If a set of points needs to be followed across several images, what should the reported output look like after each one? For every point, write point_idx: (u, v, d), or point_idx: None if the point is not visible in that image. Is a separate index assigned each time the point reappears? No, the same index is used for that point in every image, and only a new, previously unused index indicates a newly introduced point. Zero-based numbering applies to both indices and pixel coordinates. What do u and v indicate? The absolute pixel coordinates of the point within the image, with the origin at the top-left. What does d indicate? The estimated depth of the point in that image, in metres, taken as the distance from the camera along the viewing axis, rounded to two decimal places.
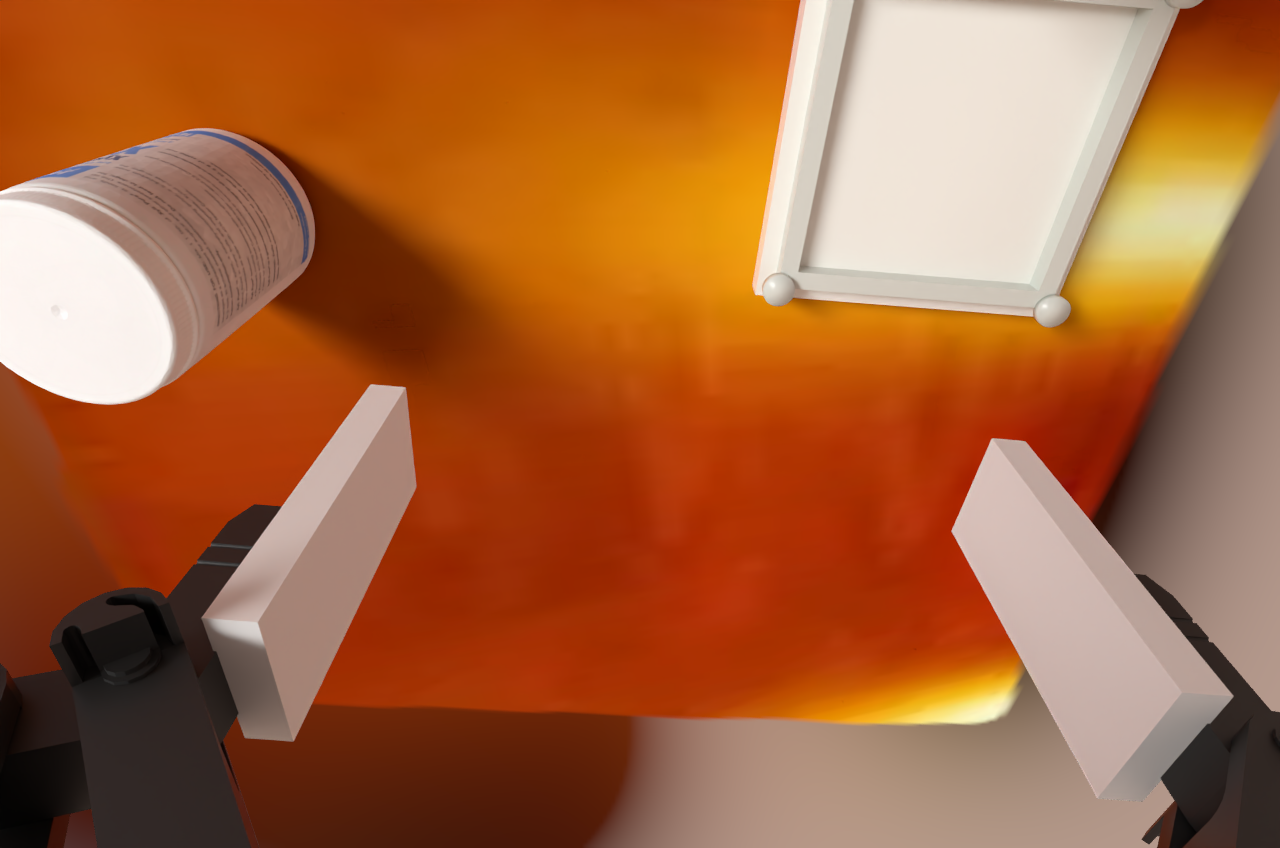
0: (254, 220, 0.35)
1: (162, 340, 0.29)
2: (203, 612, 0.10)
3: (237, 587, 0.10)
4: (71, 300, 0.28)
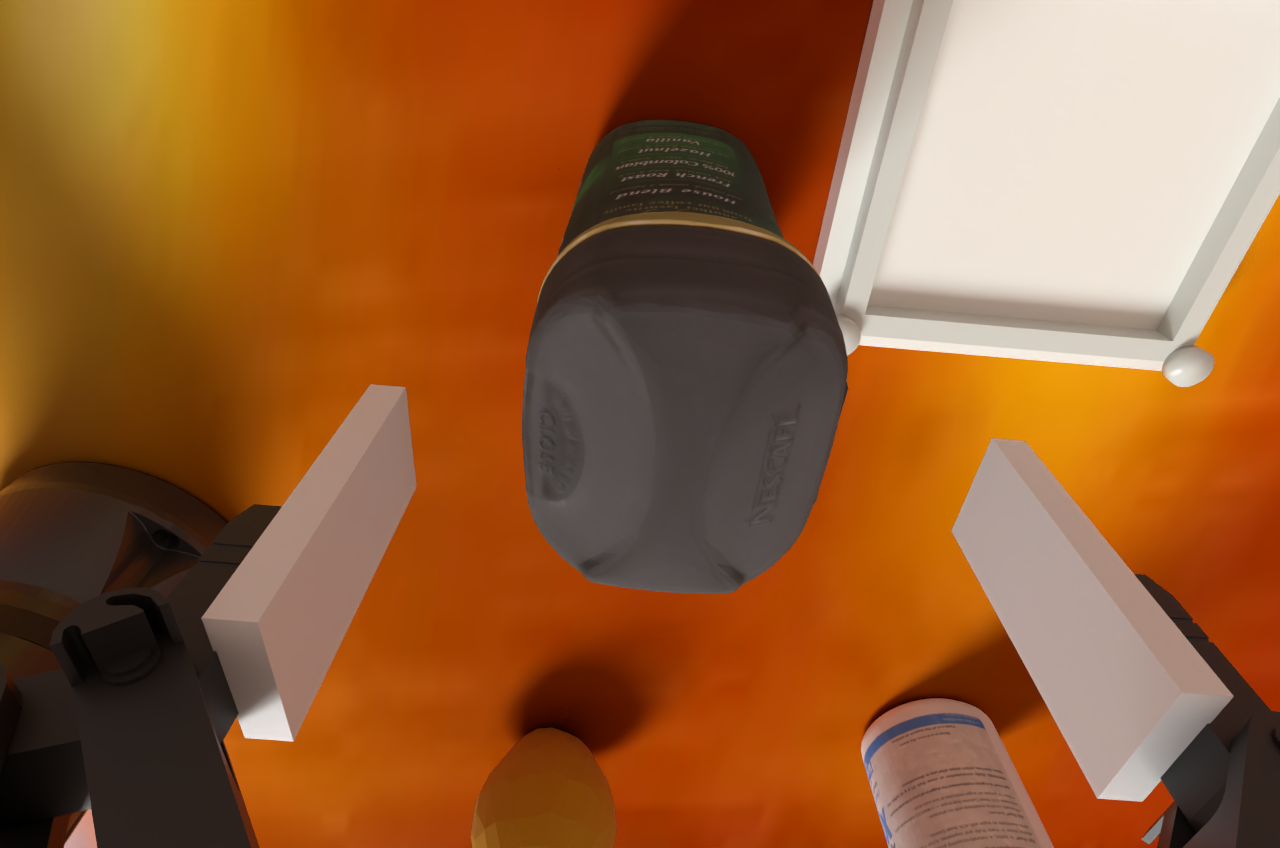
0: (955, 784, 0.43)
1: None
2: (203, 612, 0.10)
3: (237, 587, 0.10)
4: None
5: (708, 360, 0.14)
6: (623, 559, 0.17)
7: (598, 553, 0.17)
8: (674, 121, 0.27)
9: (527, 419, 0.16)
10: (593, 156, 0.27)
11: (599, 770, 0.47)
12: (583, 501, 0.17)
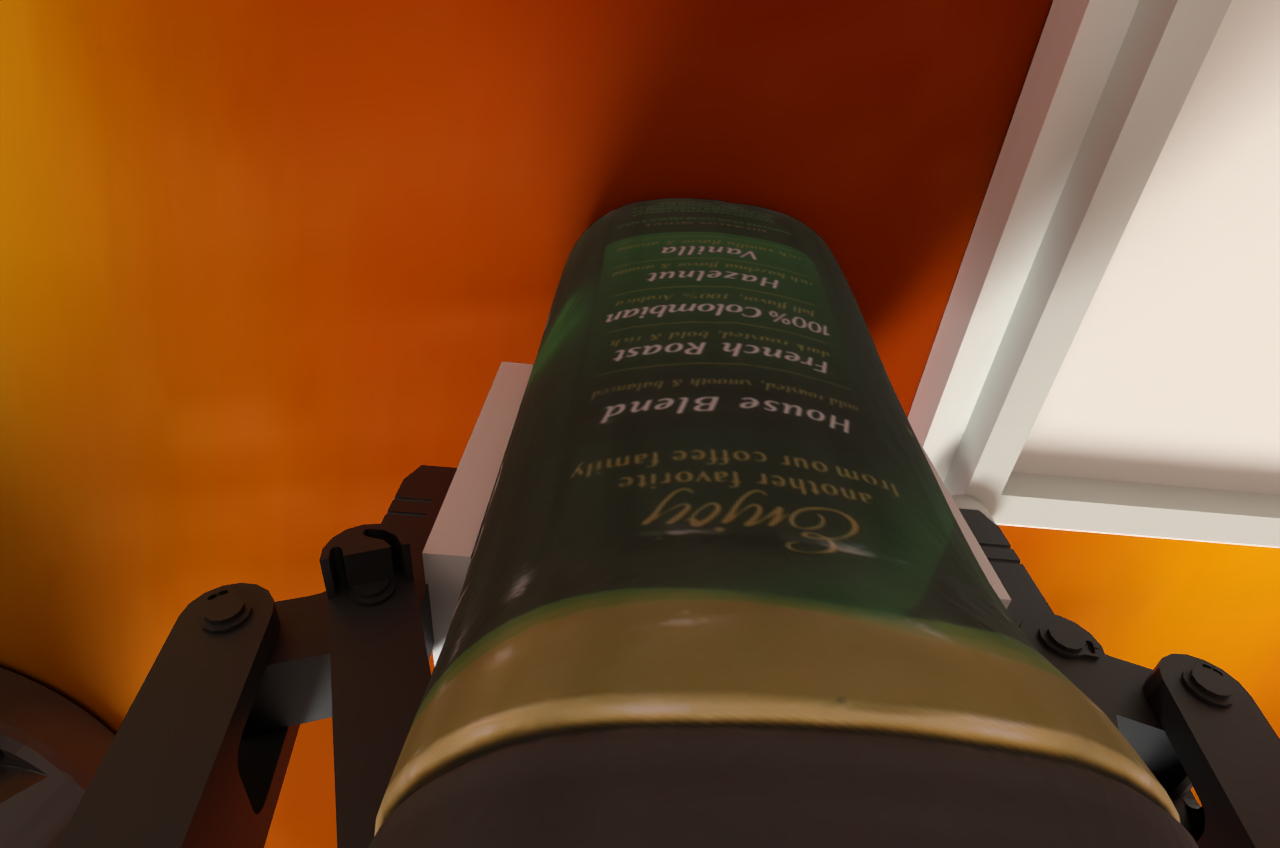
0: None
1: None
2: None
3: (444, 529, 0.11)
4: None
5: None
6: None
7: None
8: (707, 203, 0.17)
9: None
10: (571, 266, 0.16)
11: None
12: None
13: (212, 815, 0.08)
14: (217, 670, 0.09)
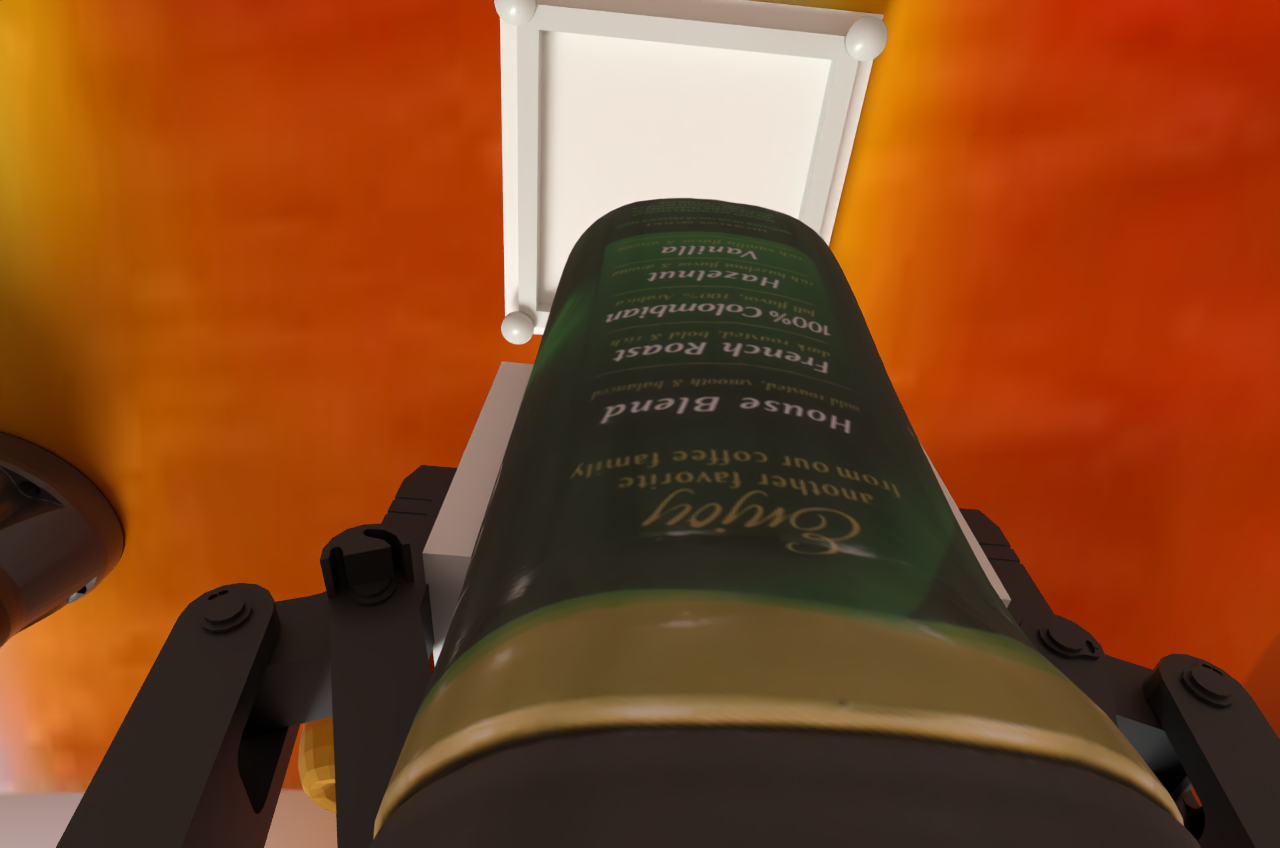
0: None
1: None
2: None
3: (444, 529, 0.11)
4: None
5: None
6: None
7: None
8: (707, 202, 0.16)
9: None
10: (571, 266, 0.16)
11: None
12: None
13: (212, 815, 0.08)
14: (217, 670, 0.09)
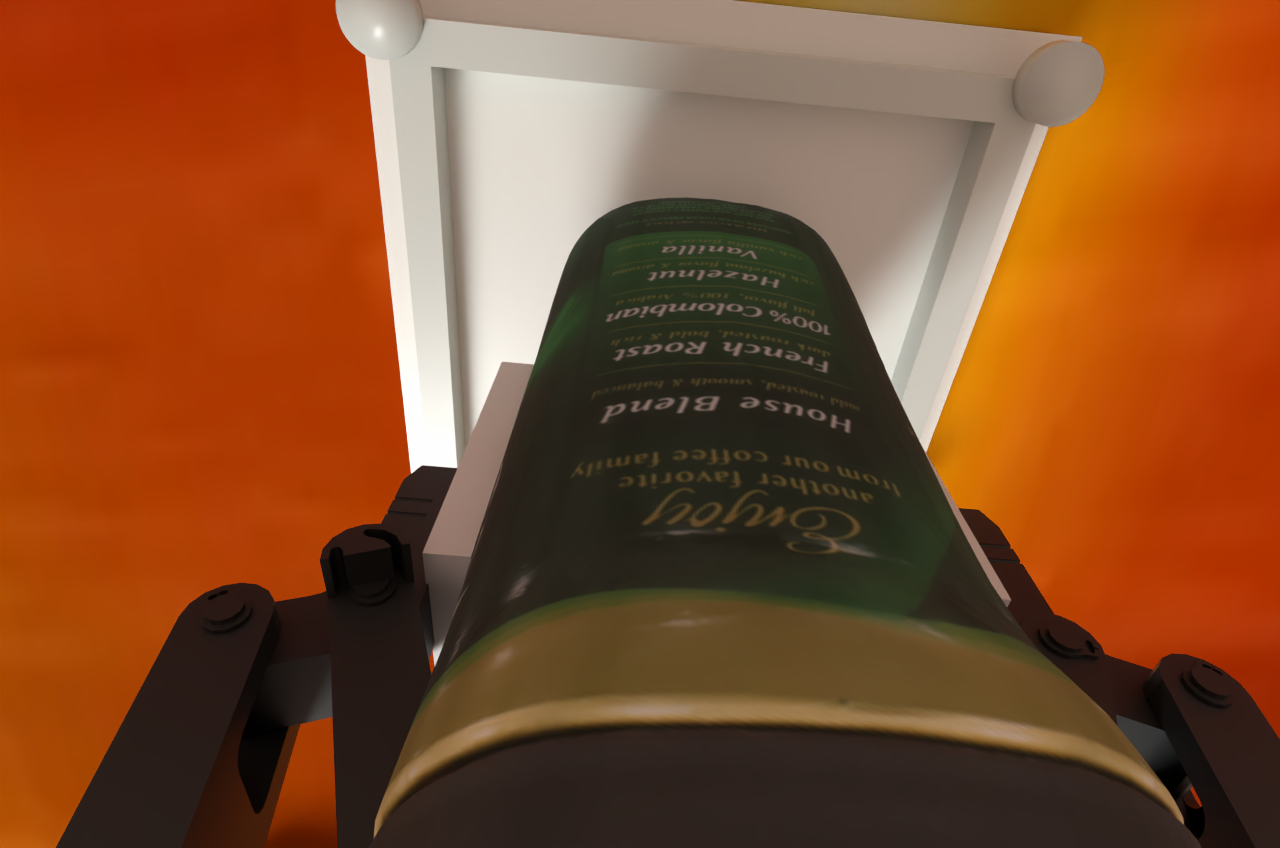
0: None
1: None
2: None
3: (443, 529, 0.11)
4: None
5: None
6: None
7: None
8: (708, 202, 0.16)
9: None
10: (571, 265, 0.16)
11: None
12: None
13: (212, 815, 0.08)
14: (217, 670, 0.09)
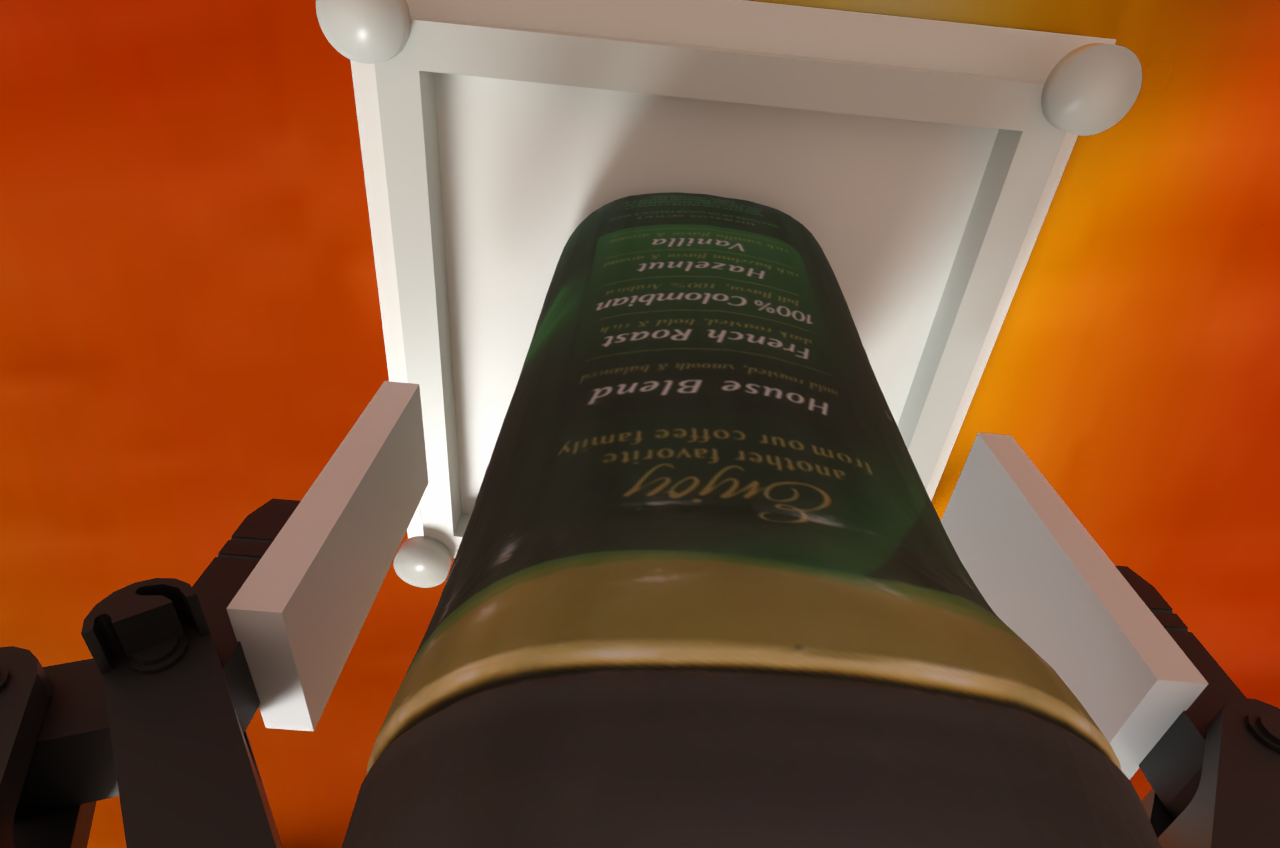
0: None
1: None
2: (226, 604, 0.10)
3: (260, 579, 0.10)
4: None
5: None
6: None
7: None
8: (698, 197, 0.17)
9: None
10: (565, 258, 0.16)
11: None
12: None
13: None
14: None
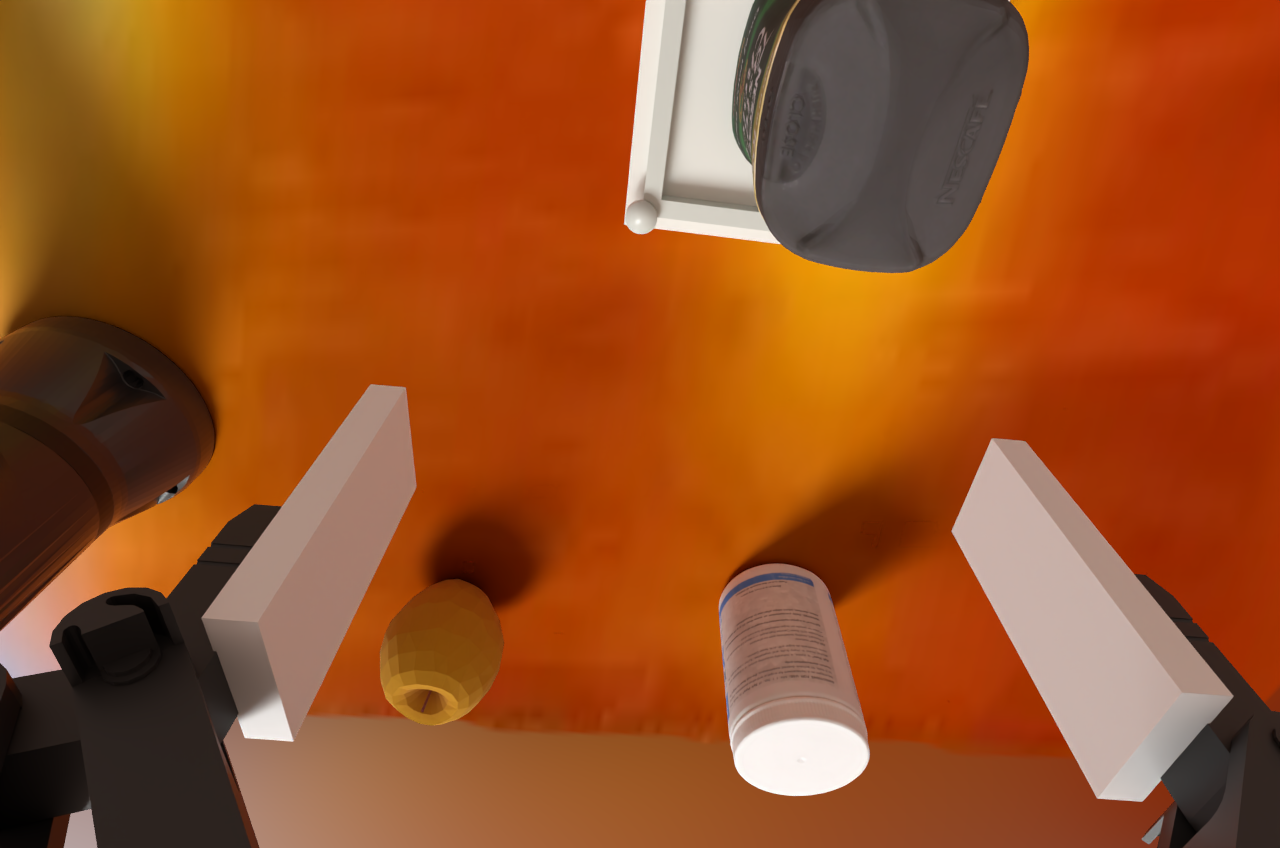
0: (774, 620, 0.51)
1: (830, 727, 0.45)
2: (203, 612, 0.10)
3: (237, 587, 0.10)
4: (795, 753, 0.47)
5: (937, 36, 0.19)
6: (839, 227, 0.23)
7: (817, 225, 0.23)
8: None
9: (780, 107, 0.22)
10: None
11: (491, 609, 0.57)
12: (814, 177, 0.22)
13: None
14: None
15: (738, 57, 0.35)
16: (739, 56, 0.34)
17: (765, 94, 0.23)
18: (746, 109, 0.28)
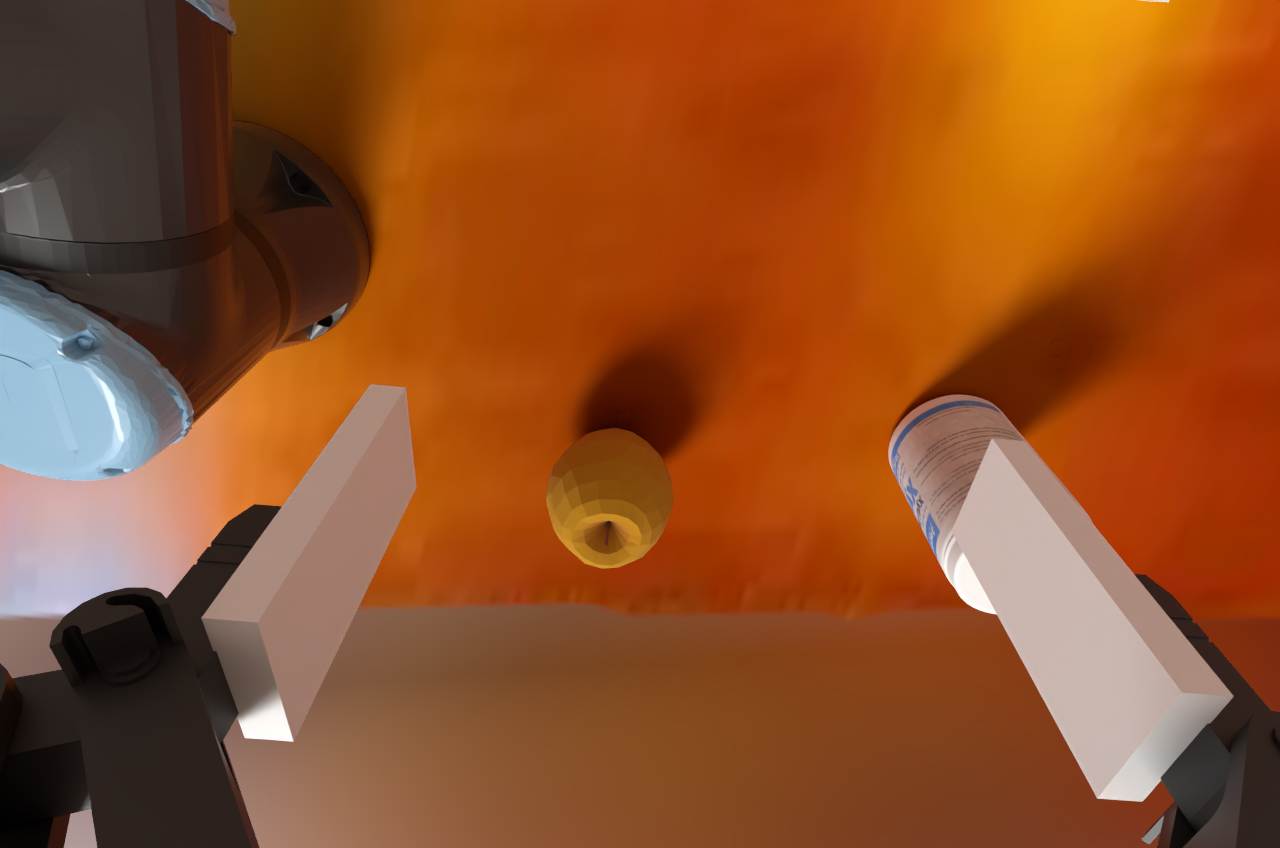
0: (974, 437, 0.49)
1: None
2: (203, 612, 0.10)
3: (237, 587, 0.10)
4: None
5: None
6: None
7: None
8: None
9: None
10: None
11: None
12: None
13: None
14: None
15: None
16: None
17: None
18: None
